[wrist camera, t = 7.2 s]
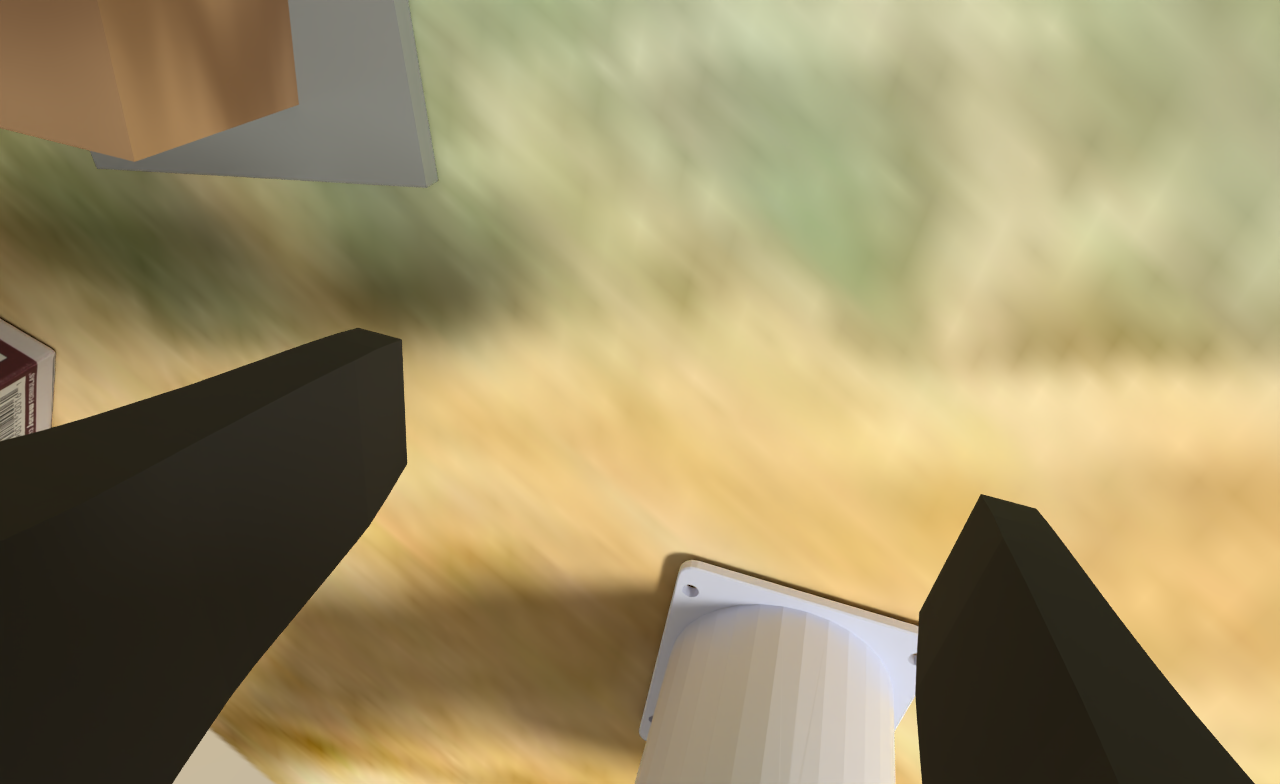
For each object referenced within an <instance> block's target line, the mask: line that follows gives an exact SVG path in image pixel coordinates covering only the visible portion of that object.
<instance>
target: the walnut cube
mask: <svg viewBox="0 0 1280 784" xmlns="http://www.w3.org/2000/svg"><path fill="white" fill-rule="evenodd" d="M297 105H299V100H298V91H297V81H296V72H295V62H294V53H293V43H292V34H291V24H290V15H289V5H288V0H0V128H2V129H6V130H10V131H14V132H18V133H22V134H26V135H30V136H34V137H38V138H42V139H46V140H50V141H54V142H58V143H62V144H66V145H70V146H74V147H78V148H82V149H86V150H90V151H94V152H98V153H102V154H106V155H110V156H114V157H118V158H122V159H126V160H129V161H133V162H136V161H139V160H141V159H144V158H147V157H150V156H153V155H156V154H159V153H162V152H164V151H167V150H170V149H173V148H176V147H179V146H182V145H185V144H187V143H190V142H193V141H196V140H199V139H202V138H205V137H208V136H210V135H213V134H216V133H219V132H222V131H225V130H228V129H231V128H233V127H236V126H239V125H242V124H245V123H248V122H251V121H253V120H256V119H259V118H262V117H265V116H268V115H271V114H274V113H276V112H279V111H282V110H285V109H288V108H291V107H294V106H297Z"/></svg>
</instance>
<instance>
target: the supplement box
mask: <svg viewBox="0 0 1280 784" xmlns="http://www.w3.org/2000/svg"><path fill="white" fill-rule="evenodd" d="M55 356H56V353H55V351H54V350H52V349H51V348H50V347H48V346H46V345H44V344H43V343H41V342H39V341H37V340H36V339H34V338H32V337H31V336H29V335H27V334H25V333H24V332H22V331H20V330H19V329H17V328H15V327H14V326H12V325H10V324H9V323H7V322H5V321H3V320H2V319H0V441H2V440H7V439H11V438H15V437H19V436H23V435H27V434H31V433H34V432H38V431H42V430H45V429H49V428H51V423H52V411H53V393H54V380H55Z"/></svg>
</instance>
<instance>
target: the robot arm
mask: <svg viewBox="0 0 1280 784" xmlns="http://www.w3.org/2000/svg"><path fill="white" fill-rule="evenodd" d="M406 465H407V449H406V426H405V403H404V380H403V357H402V339H398V338H394V337H391V336H387V335H383V334H379V333H376V332H372V331H368V330H364V329H361V328H356V329H352V330H348V331H345V332H341V333H338V334H334V335H331V336H328V337H325V338H322V339H319V340H316V341H313V342H310V343H307V344H304V345H301V346H298V347H296V348H293V349H290V350H287V351H284V352H281V353H279V354H276V355H273V356H270V357H268V358H265V359H262V360H259V361H256V362H254V363H251V364H248V365H245V366H242V367H239V368H237V369H234V370H231V371H228V372H225V373H222V374H220V375H217V376H214V377H211V378H208V379H205V380H203V381H200V382H197V383H194V384H191V385H188V386H185V387H182V388H179V389H176V390H173V391H170V392H167V393H164V394H160V395H157V396H154V397H151V398H148V399H145V400H142V401H138V402H135V403H132V404H129V405H126V406H123V407H120V408H116V409H113V410H110V411H107V412H104V413H101V414H98V415H94V416H91V417H88V418H85V419H81V420H78V421H74V422H71V423H67V424H64V425H60V426H57V427H53V428H49V429H45V430H42V431H38V432H34V433H31V434H27V435H23V436H19V437H15V438H11V439H7V440H2V441H0V784H172V783H173V782H174V780H175V778H176V777H177V775H178V774H179V772H180V771H181V769H182V767H183V766H184V765H185V763H186V762H187V760H188V759H189V757H190V756H191V754H192V753H193V751H194V750H195V749H196V747H197V745H198V744H199V743H200V741H201V739H202V738H203V737H204V735H205V734H206V732H207V731H208V729H209V728H210V726H211V725H212V723H213V722H214V720H215V719H216V717H217V716H218V715H219V713H220V712H221V710H222V709H223V707H224V706H225V704H226V703H227V701H228V700H229V698H230V697H231V696H232V694H233V693H234V692H235V690H236V689H237V688H238V686H239V685H240V684H241V682H242V681H243V680H244V679H245V677H246V676H247V675H248V673H249V672H250V671H251V669H252V668H253V667H254V665H255V664H256V663H257V662H258V661H259V659H260V658H261V657H262V656H263V654H264V653H265V652H266V651H267V650H268V648H269V647H270V646H271V645H272V644H273V642H274V641H275V640H276V639H277V638H278V636H279V635H280V634H281V633H282V632H283V630H284V629H285V628H286V627H287V626H288V624H289V623H290V622H291V621H292V620H293V618H294V617H295V616H296V615H297V613H298V612H299V611H300V610H301V609H302V607H303V606H304V605H305V604H306V603H307V601H308V600H309V599H310V598H311V597H312V595H313V594H314V593H315V592H316V591H317V589H318V588H319V587H320V586H321V585H322V583H323V582H324V581H325V580H326V579H327V577H328V576H329V575H330V574H331V572H332V571H333V570H334V569H335V568H336V566H337V565H338V564H339V563H340V561H341V560H342V559H343V558H344V556H345V555H346V554H347V553H348V552H349V550H350V549H351V548H352V547H353V545H354V544H355V543H356V542H357V540H358V539H359V538H360V537H361V535H362V534H363V533H364V532H365V530H366V529H367V528H368V527H369V525H370V524H371V522H372V520H373V519H374V517H375V516H376V514H377V513H378V511H379V510H380V508H381V506H382V505H383V503H384V502H385V500H386V499H387V497H388V495H389V494H390V492H391V490H392V489H393V487H394V485H395V483H396V482H397V480H398V478H399V477H400V475H401V473H402V472H403V470H404V468H405V467H406ZM688 585H693V586H695V587H696V588H692V587H690V586H688ZM915 653H916V654H917V655H913V654H915ZM915 696H916V711H917V724H918V737H919V750H920V763H921V774H922V784H1255V783H1254V782H1253V781H1252V780H1251V779H1250V778H1249V777H1248V775H1247V774H1246V773H1245V772H1244V771H1243V770H1242V768H1241V767H1240V766H1239V765H1238V764H1237V763H1236V761H1235V760H1234V759H1233V758H1232V757H1231V756H1230V754H1229V753H1228V752H1227V751H1226V750H1225V748H1224V747H1223V746H1222V745H1221V744H1220V743H1219V741H1218V740H1217V739H1216V738H1215V737H1214V736H1213V734H1212V733H1211V732H1210V731H1209V730H1208V729H1207V727H1206V726H1205V725H1204V724H1203V723H1202V722H1201V720H1200V719H1199V718H1198V717H1197V716H1196V715H1195V713H1194V712H1193V711H1192V710H1191V708H1190V707H1189V706H1188V705H1187V703H1186V702H1185V701H1184V700H1183V699H1182V697H1181V696H1180V695H1179V694H1178V692H1177V691H1176V690H1175V689H1174V687H1173V686H1172V685H1171V684H1170V683H1169V681H1168V680H1167V679H1166V678H1165V676H1164V675H1163V674H1162V672H1161V671H1160V670H1159V669H1158V667H1157V666H1156V665H1155V664H1154V662H1153V661H1152V660H1151V659H1150V657H1149V656H1148V655H1147V653H1146V652H1145V651H1144V650H1143V648H1142V647H1141V646H1140V644H1139V643H1138V642H1137V640H1136V639H1135V638H1134V637H1133V635H1132V634H1131V633H1130V631H1129V630H1128V629H1127V627H1126V626H1125V625H1124V623H1123V622H1122V621H1121V620H1120V618H1119V617H1118V616H1117V614H1116V613H1115V612H1114V610H1113V609H1112V608H1111V606H1110V605H1109V604H1108V602H1107V601H1106V600H1105V598H1104V597H1103V596H1102V594H1101V593H1100V592H1099V590H1098V589H1097V588H1096V586H1095V585H1094V584H1093V582H1092V581H1091V579H1090V578H1089V577H1088V575H1087V574H1086V573H1085V571H1084V570H1083V569H1082V567H1081V566H1080V565H1079V563H1078V562H1077V561H1076V559H1075V558H1074V557H1073V555H1072V554H1071V553H1070V551H1069V550H1068V549H1067V547H1066V546H1065V545H1064V543H1063V542H1062V541H1061V539H1060V538H1059V537H1058V535H1057V534H1056V533H1055V531H1054V530H1053V529H1052V528H1051V526H1050V525H1049V524H1048V522H1047V521H1046V520H1045V519H1044V518H1043V516H1042V515H1041V514H1040V513H1039V511H1038V510H1037V509H1035V508H1031V507H1028V506H1024V505H1020V504H1016V503H1013V502H1009V501H1005V500H1001V499H998V498H994V497H990V496H986V495H983V494H981V495H980V497H979V499H978V501H977V503H976V505H975V507H974V509H973V510H972V512H971V514H970V516H969V518H968V520H967V522H966V524H965V526H964V528H963V530H962V532H961V534H960V535H959V537H958V539H957V541H956V543H955V545H954V547H953V549H952V551H951V553H950V555H949V557H948V559H947V560H946V562H945V564H944V566H943V568H942V570H941V572H940V574H939V576H938V578H937V580H936V582H935V583H934V585H933V587H932V589H931V591H930V593H929V595H928V597H927V599H926V601H925V603H924V605H923V607H922V608H921V610H920V612H919V626H916V625H913V624H910V623H906V622H903V621H899V620H896V619H893V618H889V617H886V616H883V615H879V614H876V613H873V612H869V611H866V610H862V609H859V608H856V607H852V606H849V605H846V604H842V603H839V602H836V601H832V600H829V599H825V598H822V597H819V596H815V595H812V594H809V593H805V592H802V591H799V590H795V589H792V588H788V587H785V586H782V585H778V584H775V583H772V582H768V581H765V580H761V579H758V578H755V577H751V576H748V575H745V574H741V573H738V572H735V571H731V570H728V569H724V568H721V567H718V566H714V565H711V564H708V563H704V562H701V561H697V560H688V561H685V562H684V563H682V565H681V566H680V569H679V572H678V576H677V580H676V584H675V588H674V592H673V596H672V600H671V604H670V608H669V612H668V616H667V620H666V624H665V628H664V632H663V636H662V640H661V644H660V648H659V652H658V656H657V660H656V664H655V668H654V672H653V676H652V680H651V684H650V688H649V692H648V696H647V700H646V704H645V708H644V712H643V716H642V720H641V724H640V728H639V734H640V736H641V737H642V739H644V740H645V741H646V744H645V748H644V751H643V755H642V759H641V762H640V766H639V769H638V773H637V777H636V780H635V784H895V741H894V732H895V730H896V728H897V726H898V725H899V723H900V721H901V720H902V718H903V716H904V714H905V713H906V711H907V709H908V708H909V706H910V704H911V702H912V701H913V699H914V697H915Z"/></svg>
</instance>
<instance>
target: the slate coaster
mask: <svg viewBox="0 0 1280 784" xmlns="http://www.w3.org/2000/svg"><path fill="white" fill-rule="evenodd" d="M288 5H289V15H290V24H291V34H292V43H293V53H294V62H295V72H296V81H297V91H298V100H299V105H297V106H294V107H291V108H288V109H285V110H282V111H279V112H276V113H274V114H271V115H268V116H265V117H262V118H259V119H256V120H253V121H251V122H248V123H245V124H242V125H239V126H236V127H233V128H231V129H228V130H225V131H222V132H219V133H216V134H213V135H210V136H208V137H205V138H202V139H199V140H196V141H193V142H190V143H187V144H185V145H182V146H179V147H176V148H173V149H170V150H167V151H164V152H162V153H159V154H156V155H153V156H150V157H147V158H144V159H141V160H139V161H136V162H133V161H129V160H126V159H122V158H118V157H114V156H110V155H106V154H102V153H98V152H94V151H90V152H91V155H92V157H93V160H94V162H95V165H96V167H97V169H114V170H131V171H149V172H166V173H183V174H200V175H217V176H235V177H252V178H269V179H286V180H303V181H321V182H338V183H355V184H372V185H389V186H407V187H424V188H427V187H429V186H430V185H432V184H433V183H435V182H437V181H438V176H437V170H436V164H435V158H434V152H433V146H432V140H431V134H430V128H429V122H428V116H427V110H426V104H425V98H424V92H423V86H422V80H421V74H420V68H419V62H418V56H417V50H416V44H415V38H414V32H413V26H412V20H411V14H410V8H409V2H408V0H288Z"/></svg>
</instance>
